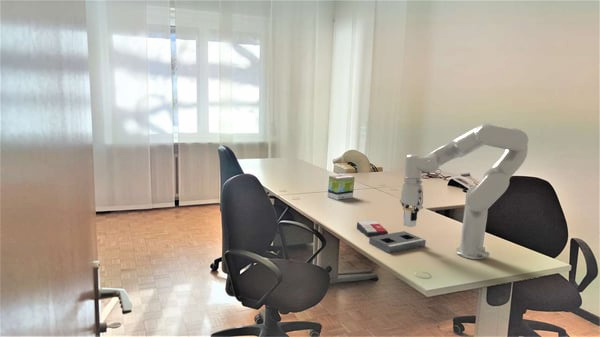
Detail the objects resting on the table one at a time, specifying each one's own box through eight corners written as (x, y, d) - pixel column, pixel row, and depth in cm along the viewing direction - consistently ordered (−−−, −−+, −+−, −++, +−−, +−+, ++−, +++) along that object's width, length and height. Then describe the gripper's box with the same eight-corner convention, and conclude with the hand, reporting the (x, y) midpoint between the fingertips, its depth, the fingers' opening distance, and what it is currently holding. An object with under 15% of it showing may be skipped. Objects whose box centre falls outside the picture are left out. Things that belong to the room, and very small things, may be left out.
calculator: (367, 231, 206) (357, 220, 220) (366, 239, 207) (356, 228, 221) (388, 230, 208) (376, 220, 222) (387, 239, 209) (375, 227, 223)
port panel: (425, 247, 197) (425, 240, 196) (389, 254, 186) (390, 246, 185) (403, 237, 209) (404, 230, 208) (369, 244, 198) (369, 236, 197)
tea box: (337, 200, 276) (338, 178, 274) (327, 197, 284) (328, 175, 281) (353, 197, 286) (355, 176, 283) (343, 194, 293) (344, 173, 291)
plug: (415, 226, 198) (417, 209, 196) (409, 227, 196) (410, 210, 194) (409, 223, 201) (410, 207, 200) (403, 224, 199) (404, 208, 198)
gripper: (432, 183, 190) (429, 222, 193) (405, 177, 204) (403, 213, 207) (420, 185, 186) (417, 225, 189) (394, 178, 200) (391, 215, 203)
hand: (410, 218), depth 198 cm, fingers closed on plug, 4 cm apart
